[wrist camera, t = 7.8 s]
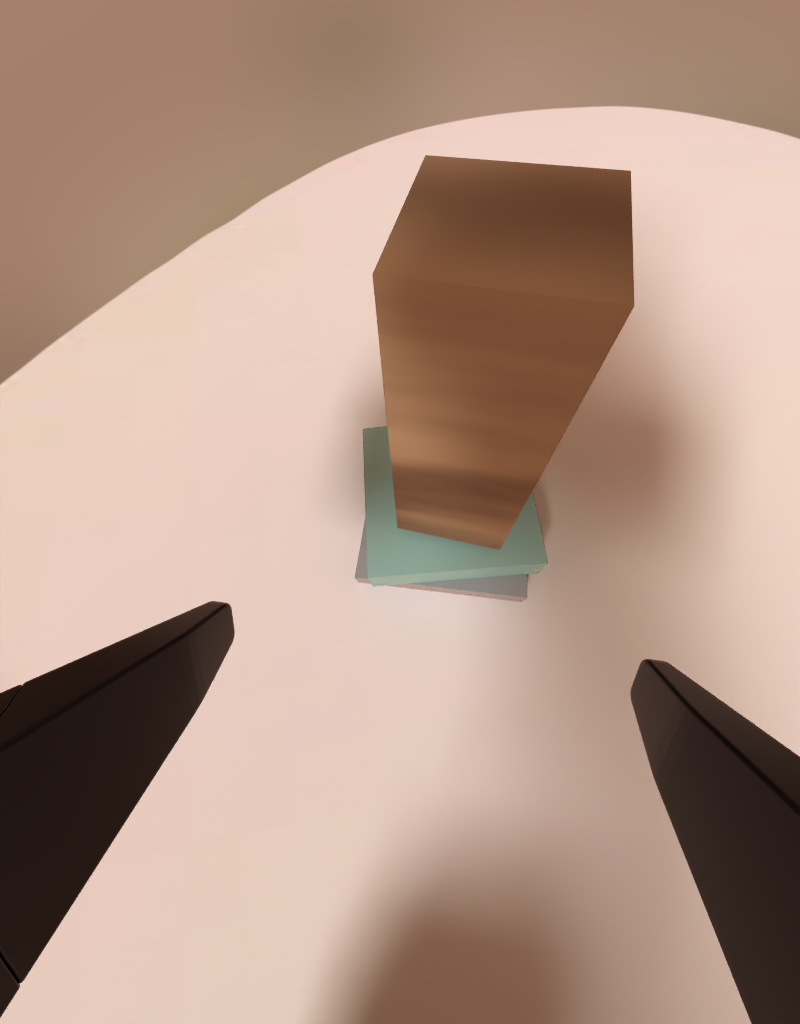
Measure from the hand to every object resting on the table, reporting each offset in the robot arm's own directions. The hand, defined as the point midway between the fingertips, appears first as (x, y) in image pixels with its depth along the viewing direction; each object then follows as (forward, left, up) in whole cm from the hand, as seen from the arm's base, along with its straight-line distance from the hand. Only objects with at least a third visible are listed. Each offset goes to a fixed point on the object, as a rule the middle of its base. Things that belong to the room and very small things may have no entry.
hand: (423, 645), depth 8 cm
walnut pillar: (+2, -8, -9) cm, 12 cm away
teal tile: (+3, -8, -11) cm, 14 cm away
